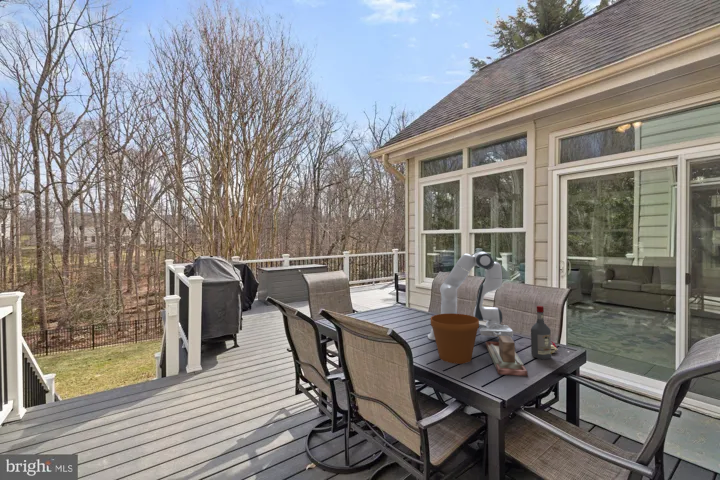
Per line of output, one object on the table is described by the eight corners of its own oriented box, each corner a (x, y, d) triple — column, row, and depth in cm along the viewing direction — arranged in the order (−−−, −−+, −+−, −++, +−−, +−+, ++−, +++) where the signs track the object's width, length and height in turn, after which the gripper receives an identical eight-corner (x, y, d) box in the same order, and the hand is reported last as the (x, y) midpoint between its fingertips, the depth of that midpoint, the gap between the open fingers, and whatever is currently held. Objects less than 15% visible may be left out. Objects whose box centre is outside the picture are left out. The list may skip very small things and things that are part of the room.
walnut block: (503, 362, 184) (502, 342, 184) (499, 354, 196) (498, 335, 196) (515, 362, 183) (514, 342, 182) (510, 354, 194) (509, 336, 194)
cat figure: (534, 343, 226) (541, 353, 202) (533, 330, 227) (541, 338, 203) (550, 344, 223) (560, 354, 199) (550, 331, 223) (559, 339, 200)
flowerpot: (465, 348, 216) (464, 312, 216) (489, 364, 189) (488, 323, 189) (424, 351, 212) (423, 315, 211) (443, 368, 184) (442, 326, 184)
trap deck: (498, 374, 175) (498, 366, 175) (485, 344, 222) (485, 339, 222) (527, 376, 172) (527, 368, 172) (508, 346, 219) (508, 339, 219)
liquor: (529, 354, 202) (528, 305, 202) (541, 353, 204) (540, 304, 204) (540, 360, 193) (539, 308, 193) (553, 358, 195) (552, 307, 195)
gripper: (478, 324, 230) (481, 330, 216) (510, 325, 225) (515, 331, 211) (478, 333, 230) (481, 339, 216) (510, 334, 225) (515, 341, 211)
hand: (498, 335), depth 214 cm, fingers closed
